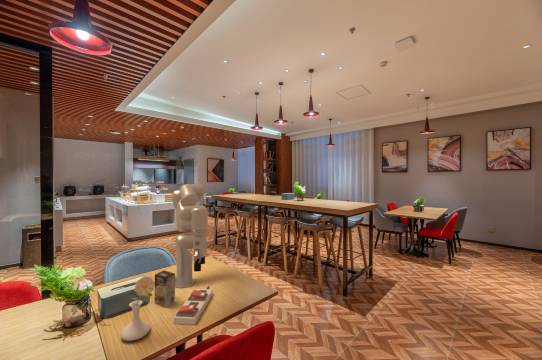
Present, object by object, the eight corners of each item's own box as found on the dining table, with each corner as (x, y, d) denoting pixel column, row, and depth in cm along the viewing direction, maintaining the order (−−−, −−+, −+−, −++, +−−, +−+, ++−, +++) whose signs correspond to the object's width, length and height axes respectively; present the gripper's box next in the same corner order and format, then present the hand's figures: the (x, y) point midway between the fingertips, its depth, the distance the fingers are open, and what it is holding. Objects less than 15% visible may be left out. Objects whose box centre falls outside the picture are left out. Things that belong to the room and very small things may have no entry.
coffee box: (153, 303, 127) (153, 274, 127) (163, 298, 133) (163, 270, 133) (166, 308, 124) (166, 277, 123) (175, 302, 129) (175, 273, 129)
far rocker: (190, 296, 126) (190, 293, 126) (193, 292, 131) (194, 289, 131) (202, 299, 126) (203, 296, 126) (205, 295, 130) (206, 292, 130)
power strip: (173, 323, 111) (173, 315, 111) (200, 287, 147) (200, 280, 147) (194, 324, 110) (194, 316, 110) (216, 287, 146) (216, 281, 146)
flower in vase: (118, 347, 96) (118, 285, 95) (123, 329, 106) (122, 274, 105) (154, 338, 101) (154, 280, 100) (155, 322, 111) (155, 270, 111)
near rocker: (178, 314, 112) (177, 311, 112) (182, 309, 117) (181, 306, 117) (192, 312, 112) (192, 308, 112) (196, 307, 116) (195, 303, 116)
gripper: (203, 236, 108) (204, 274, 108) (210, 228, 126) (210, 261, 125) (187, 236, 108) (187, 274, 108) (195, 229, 125) (196, 261, 125)
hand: (199, 267), depth 117 cm, fingers open, 9 cm apart
